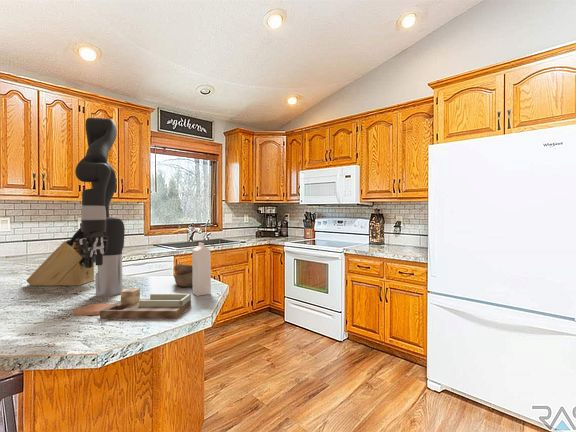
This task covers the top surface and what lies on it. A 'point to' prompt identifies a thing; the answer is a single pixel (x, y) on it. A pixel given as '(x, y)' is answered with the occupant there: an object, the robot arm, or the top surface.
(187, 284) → the bowl
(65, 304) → the top surface
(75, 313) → the tile
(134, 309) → the dark brown flat tray
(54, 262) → the knife block
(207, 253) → the milk
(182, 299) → the grey green shallow tray
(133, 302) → the block
